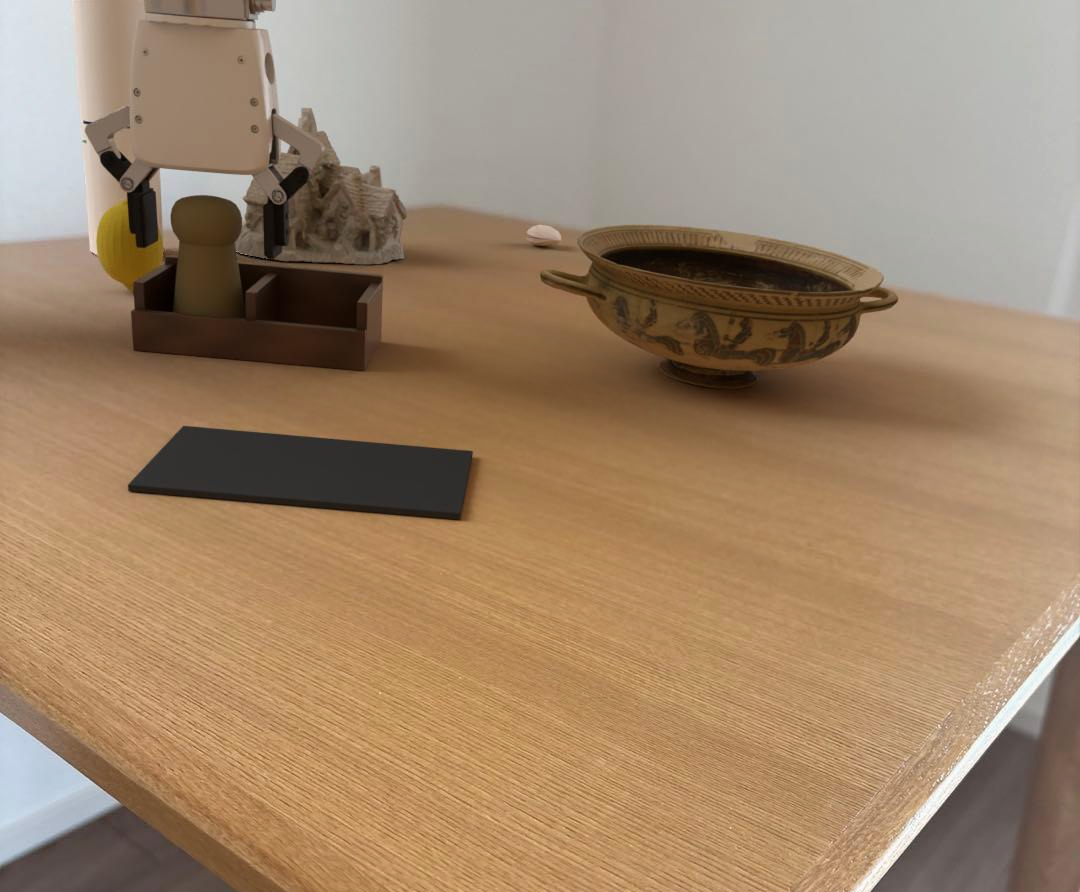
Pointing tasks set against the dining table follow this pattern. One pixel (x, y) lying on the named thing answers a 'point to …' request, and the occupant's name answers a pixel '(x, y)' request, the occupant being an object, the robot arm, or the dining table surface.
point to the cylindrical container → (105, 95)
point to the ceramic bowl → (722, 299)
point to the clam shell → (543, 235)
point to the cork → (207, 257)
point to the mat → (309, 472)
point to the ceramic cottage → (330, 212)
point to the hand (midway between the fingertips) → (210, 249)
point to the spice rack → (268, 317)
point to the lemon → (124, 248)
